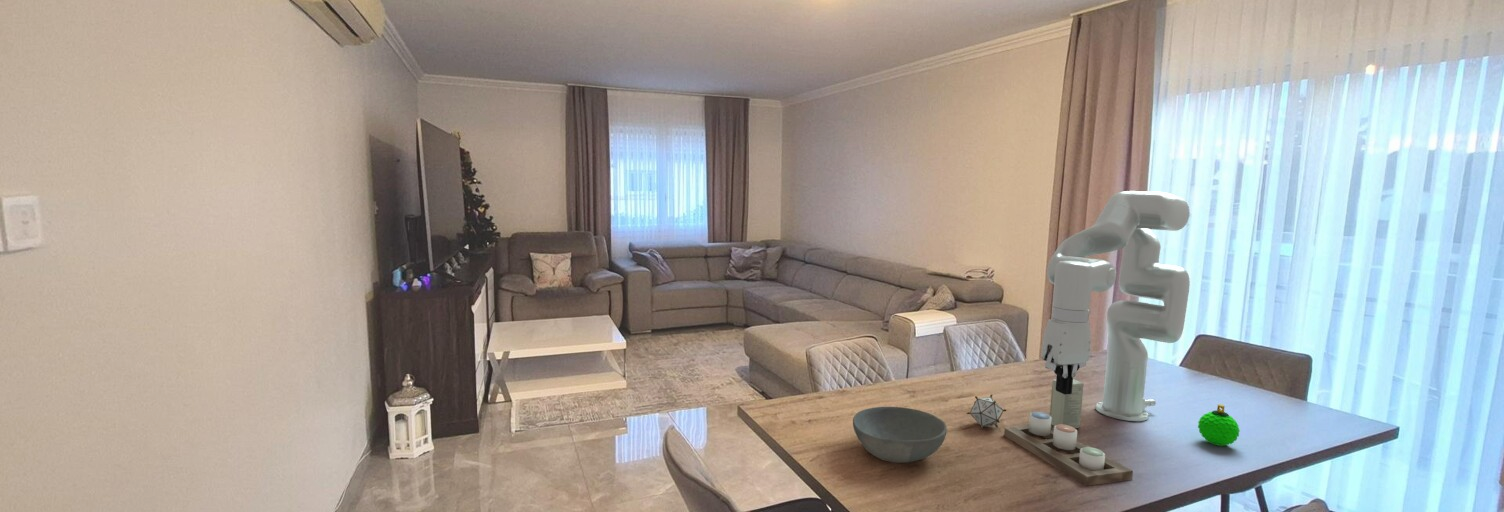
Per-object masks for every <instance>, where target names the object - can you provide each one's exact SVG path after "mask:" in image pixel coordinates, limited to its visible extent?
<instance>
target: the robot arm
mask: <svg viewBox="0 0 1504 512" xmlns="http://www.w3.org/2000/svg"><path fill="white" fill-rule="evenodd" d="M1190 211H1191V210H1190V206H1189V204H1188V202H1187V200H1186V199H1184V198H1183V197H1180V196H1179V195H1178V196H1177V195H1175V194H1172V193H1169V192H1164V191H1139V190H1138V191H1136V190H1129V191H1128V190H1126V191H1120V192H1116V193H1115V194H1113V195H1112V196H1111V197H1110V198H1109V200H1108V201H1107V202H1106V204H1105V206H1104V208H1103V209H1102V211H1101V213H1100V214H1099V216H1098V217H1097V219H1096V220H1095V222H1094V223H1093V225H1092V226H1090V227H1088V228H1085V229H1083V230H1081V231H1078V232H1077V233H1075V234H1073V235H1071V236H1069V237H1067V238H1066V239H1064V240H1063V241H1062V242H1060V244H1059V246H1057V248H1056V250H1055V252H1054V253H1053V255H1052V256H1051V258H1050V260H1049V262H1048V264H1047V265H1048V266H1047V267H1046V268H1047V269H1046V276H1047V279H1048V281H1049V282H1050V283H1051V284H1052V285H1053V291H1052V293H1053V294H1052V307H1051V316H1050V317H1051V318H1050V319H1048V320H1047V323H1046V327H1045V330H1044V334H1043V338H1042V339H1043V341H1042V347H1041V355H1040V357H1041V360H1043V361H1045V366H1044V368H1045V369H1048V370H1050V371H1053V372H1054V375H1056V378H1055V379H1056V391H1058V392H1060V393H1062V394H1065V395H1067V394H1072V384H1073V379H1074V378H1075V377H1076V375H1077V372H1078V370H1079V369H1081V368H1084V367H1086V366H1087V362H1088V361H1089V359H1090V354H1091V345H1092V344H1091V342H1092V338H1091V336H1092V335H1091V326H1090V325H1091V324H1090V321H1089V319H1090V314H1091V310H1090V305H1091V297H1092V296H1091V293H1092V292H1098V293H1100V292H1101V293H1102V292H1105V291H1108V290H1109V289H1111V288H1112V287H1113V285H1114V284H1115V283H1116V280H1117V270H1116V267H1115V266H1114V265H1113V264H1112V263H1111V262H1110V261H1109V260H1105V259H1101V258H1099V259H1098V258H1089V257H1090V256H1096V255H1101V254H1106V253H1111V252H1115V251H1118V250H1121V249H1122V248H1123V249H1122V253H1121V255H1122V256H1121V263H1120V267H1119V268H1120V270H1119V276H1118V288H1119V291H1120V292H1121V293H1123V294H1125V295H1128V296H1132V297H1137V298H1142V299H1143V298H1144V299H1152V300H1159V301H1162V303H1163V305H1160V304H1153V303H1148V302H1142V301H1136V300H1135V301H1134V300H1117V301H1114V302H1112V303H1111V304H1110V305H1109V307H1108V309H1107V312H1106V313H1107V314H1106V321H1107V322H1106V323H1107V338H1108V339H1107V340H1108V341H1107V351H1106V353H1107V355H1106V364H1105V373H1104V375H1105V376H1104V384H1103V395H1102V401H1099V402H1097V403H1096V404H1095V409H1096V411H1097V412H1098V413H1100V414H1103V415H1104V416H1107V417H1110V418H1113V419H1117V420H1122V421H1127V422H1129V421H1130V422H1144V421H1146V420H1148V419H1149V412H1148V411H1147V410H1146V408H1147V407H1154V406H1156V404H1157V403H1156V400H1155V399H1153V398H1147V399H1146V398H1145V389H1146V378H1147V371H1148V369H1147V368H1148V361H1149V354H1148V350H1147V348H1146V346H1145V344H1144V343H1143V341H1142V339H1143V340H1149V341H1154V342H1155V341H1156V342H1161V343H1167V344H1172V343H1176V342H1178V341H1179V340H1180V339H1181V338H1182V335H1183V333H1184V328H1185V321H1186V320H1185V319H1186V313H1187V308H1188V302H1189V301H1188V300H1189V296H1190V295H1189V294H1190V286H1191V285H1190V283H1191V281H1190V276H1189V273H1188V270H1186V269H1185V268H1184V267H1181V266H1179V265H1173V264H1161V263H1160V261H1159V260H1160V254H1161V253H1160V252H1161V242H1160V241H1159V239H1158V238H1157V235H1156V234H1155V233H1154V232H1153V231H1152V230H1157V231H1158V230H1159V231H1169V232H1170V231H1172V232H1174V231H1175V232H1178V231H1180V230H1182V229H1183V228H1184V227H1186V225H1187V223H1188V222H1189V218H1190Z"/></svg>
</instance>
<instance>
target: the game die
mask: <svg viewBox="0 0 1504 512" xmlns="http://www.w3.org/2000/svg"><path fill="white" fill-rule="evenodd" d="M974 397H975V398H974V399H976V400H975V401H974V402H973V403H974V404H973V406H972V407H971V409H970V412H966V415H971V417H973V419H974V420H975V421H976V422H977V423H978V425H979V426H980V430H983V429H984V428H985V427H990V426H991V427H992V426H995V428H999V425H998V423H1000V418H1001V416H1002V415H1003V412H1007V411H1008V410H1007V409H1005V408H1004V409H1003V408H1002V407H1001V406H1000V405H999V404H998V403H997V401H996V400H995V399H994V398H993V394H992V393H991V394H990V396H989V397H979V398H978V396H976V395H975V396H974ZM983 427H984V428H983Z"/></svg>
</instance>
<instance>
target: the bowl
mask: <svg viewBox="0 0 1504 512" xmlns="http://www.w3.org/2000/svg"><path fill="white" fill-rule="evenodd" d="M852 427H853V429H854V430H853V431H854V433H855V435H856V438H857V439H858V441H859V443H860V444H861V445H862V447H864V449H865V450H866V451H867V452H869V454H871V455H872V456H874V457H876V458H877V459H880V460H882V461H886V462H889V463H899V464H902V463H904V464H905V463H912V462H913V463H914V462H917V461H920V460H923V459H926V458H928V457H929V456H932V455H933V454H935V452H937V450H938V449H939V448H940V447H941V446H942V444H943V443H944V441H945V439H946V436H947V431H948V427H947V425H946V423H945V421H943V420H942V419H941V418H940V417H937V416H936V415H934V414H931V413H929V412H927V411H923V410H919V409H916V408H915V409H914V408H910V407H902V406H876V407H870V408H865V409H862V410H859V411H858V412H857V413H856V414H855V415H854V416H853V418H852Z"/></svg>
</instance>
